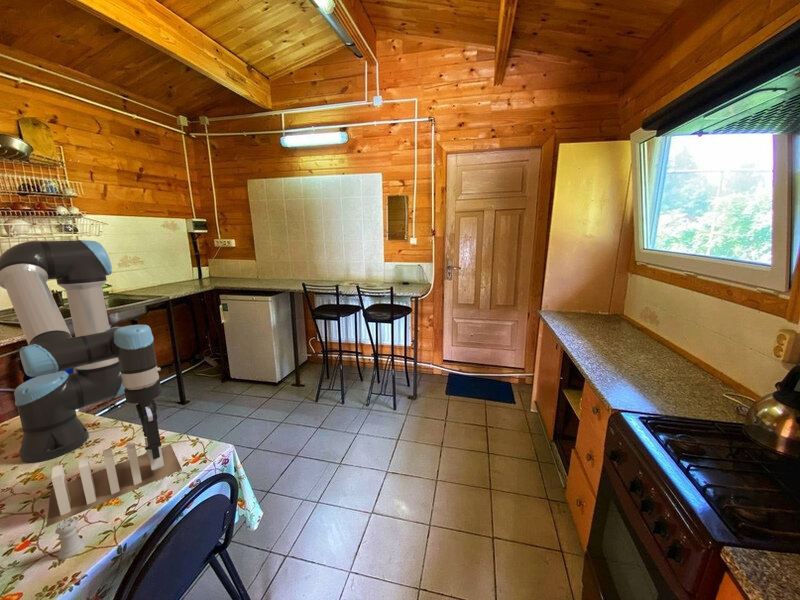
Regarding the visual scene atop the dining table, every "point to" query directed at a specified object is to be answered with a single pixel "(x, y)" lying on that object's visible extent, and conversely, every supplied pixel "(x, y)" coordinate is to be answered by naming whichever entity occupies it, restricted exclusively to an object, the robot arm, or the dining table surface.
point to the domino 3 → (111, 470)
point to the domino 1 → (61, 489)
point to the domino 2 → (87, 480)
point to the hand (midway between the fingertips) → (156, 462)
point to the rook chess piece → (69, 539)
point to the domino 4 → (133, 462)
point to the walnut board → (104, 488)
